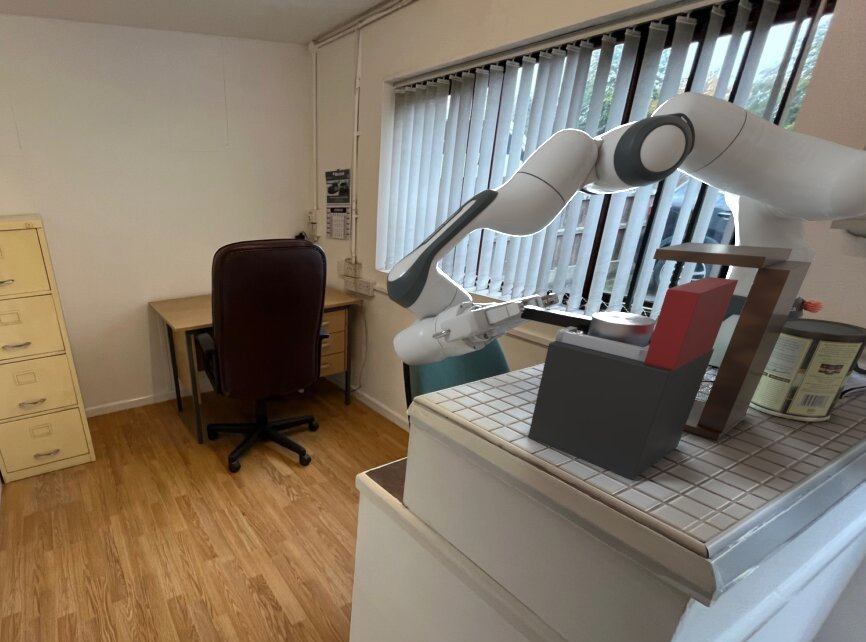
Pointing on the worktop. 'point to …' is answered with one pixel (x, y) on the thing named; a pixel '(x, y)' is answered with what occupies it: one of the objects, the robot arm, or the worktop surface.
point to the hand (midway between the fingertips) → (539, 302)
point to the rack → (743, 327)
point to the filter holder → (599, 324)
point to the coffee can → (809, 369)
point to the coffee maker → (630, 383)
